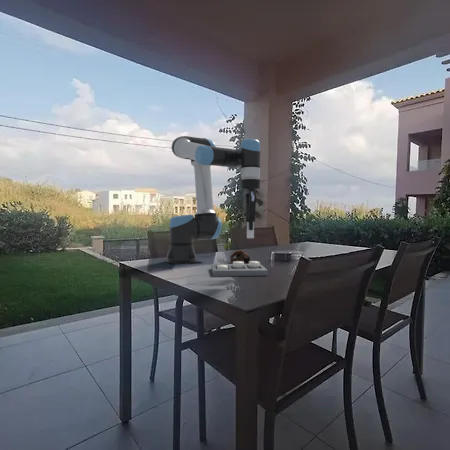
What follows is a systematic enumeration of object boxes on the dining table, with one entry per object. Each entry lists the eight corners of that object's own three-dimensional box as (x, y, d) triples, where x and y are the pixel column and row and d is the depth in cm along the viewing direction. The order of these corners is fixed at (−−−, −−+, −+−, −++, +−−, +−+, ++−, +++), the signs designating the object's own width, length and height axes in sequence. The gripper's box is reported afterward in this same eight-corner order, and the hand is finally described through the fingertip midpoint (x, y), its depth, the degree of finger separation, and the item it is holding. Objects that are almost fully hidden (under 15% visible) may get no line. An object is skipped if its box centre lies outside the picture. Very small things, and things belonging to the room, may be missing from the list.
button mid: (232, 266, 125) (232, 261, 125) (242, 266, 125) (242, 261, 125) (233, 268, 121) (233, 263, 120) (244, 268, 121) (244, 263, 121)
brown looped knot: (254, 268, 140) (247, 253, 137) (236, 277, 140) (229, 262, 138) (249, 257, 152) (242, 243, 149) (232, 265, 152) (225, 252, 149)
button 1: (216, 270, 124) (216, 264, 124) (227, 270, 125) (227, 264, 125) (217, 272, 120) (217, 266, 120) (228, 272, 120) (228, 266, 120)
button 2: (247, 266, 126) (247, 261, 125) (258, 266, 126) (258, 261, 126) (249, 268, 121) (249, 263, 121) (260, 268, 122) (260, 262, 122)
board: (211, 271, 129) (211, 264, 129) (259, 271, 131) (259, 263, 131) (213, 279, 115) (213, 270, 115) (267, 278, 117) (267, 270, 117)
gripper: (239, 180, 127) (239, 236, 128) (243, 177, 114) (243, 239, 115) (256, 181, 128) (256, 236, 129) (263, 177, 115) (262, 239, 116)
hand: (250, 238), depth 122 cm, fingers closed
